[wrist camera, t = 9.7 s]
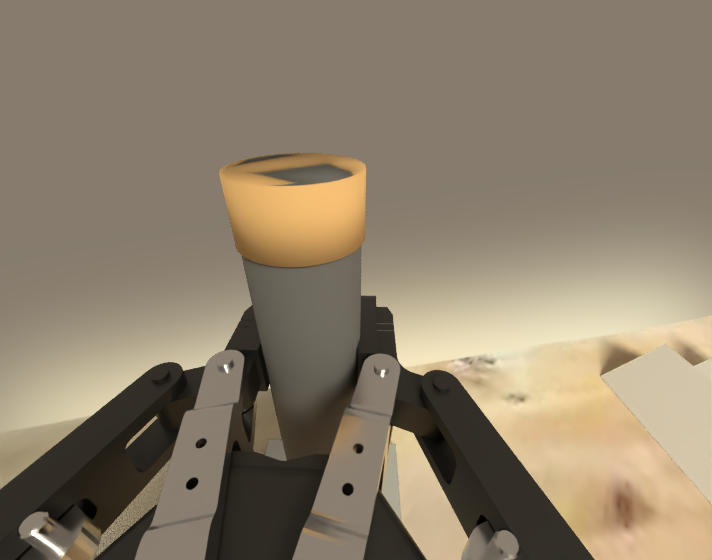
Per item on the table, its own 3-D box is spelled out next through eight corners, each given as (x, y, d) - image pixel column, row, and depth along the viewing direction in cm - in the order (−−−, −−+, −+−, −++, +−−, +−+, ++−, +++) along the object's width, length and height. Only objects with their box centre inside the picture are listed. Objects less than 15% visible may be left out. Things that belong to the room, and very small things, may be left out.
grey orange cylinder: (282, 512, 15) (190, 186, 7) (297, 438, 19) (247, 152, 10) (359, 515, 15) (365, 188, 7) (361, 440, 19) (366, 153, 10)
